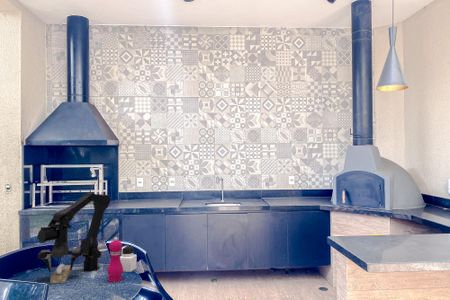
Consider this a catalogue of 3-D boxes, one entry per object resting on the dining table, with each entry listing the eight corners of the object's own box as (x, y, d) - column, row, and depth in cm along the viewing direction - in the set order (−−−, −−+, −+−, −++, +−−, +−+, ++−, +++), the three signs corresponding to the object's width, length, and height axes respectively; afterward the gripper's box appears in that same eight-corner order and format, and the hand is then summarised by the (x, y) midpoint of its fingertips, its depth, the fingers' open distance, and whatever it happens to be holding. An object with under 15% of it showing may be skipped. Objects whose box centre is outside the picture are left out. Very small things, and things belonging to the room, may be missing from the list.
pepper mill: (118, 282, 159) (118, 239, 160) (104, 281, 160) (104, 238, 161) (125, 277, 166) (126, 236, 167) (112, 277, 167) (112, 235, 168)
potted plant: (136, 268, 182) (136, 245, 182) (130, 272, 175) (131, 248, 175) (123, 267, 183) (124, 244, 183) (117, 271, 176) (118, 247, 176)
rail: (71, 271, 176) (71, 265, 176) (64, 282, 159) (64, 275, 159) (58, 272, 174) (58, 266, 174) (50, 283, 158) (50, 276, 158)
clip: (64, 276, 168) (64, 263, 168) (61, 281, 161) (61, 268, 161) (59, 276, 167) (60, 264, 168) (56, 281, 160) (57, 268, 161)
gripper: (35, 243, 155) (34, 278, 154) (79, 241, 160) (78, 275, 159) (41, 238, 166) (40, 271, 165) (83, 236, 170) (82, 268, 170)
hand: (60, 271), depth 164 cm, fingers open, 9 cm apart
